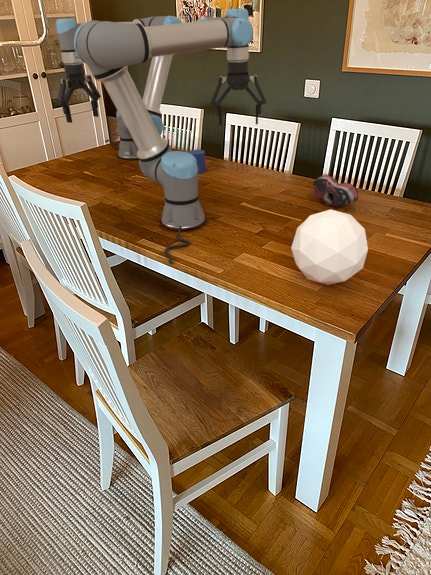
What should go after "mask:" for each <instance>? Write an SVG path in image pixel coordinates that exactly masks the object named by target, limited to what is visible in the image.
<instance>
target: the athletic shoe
mask: <svg viewBox="0 0 431 575" xmlns="http://www.w3.org/2000/svg"><path fill="white" fill-rule="evenodd" d="M312 186H313V190H314V191H315V193H311V195H312V196H314V197H318V199H319V200H320V202H321V203H322V202H323V203H324V204H325V205H326V206H331V207H336V208H340V207H342V206H343V207H344V206H346V205H350V204H352V203H354V202H357V201H358V200H359V193H358V190H357V188H356V187H355V186H354V185H353V184H352V183H349V182H342V183H339V181H338V180H337V179H336V178H335V177H333V176H331V175H329V174H327V175H326V174H324V175H320V176H319V177H317V178H316V179H315V180H314V182H313V185H312Z"/></svg>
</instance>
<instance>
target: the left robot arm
mask: <svg viewBox="0 0 431 575" xmlns="http://www.w3.org/2000/svg"><path fill="white" fill-rule="evenodd" d="M115 22H116V23H124V24H136V23H141V24H142V25H143V26H144V27H150V26H159V25H169V24H179V23H184V22H183V21H182V19H180V18H179V17H178V16H172V15H155V16H149V17H144V18H135V19H133V20H132V21H115ZM84 23H85V22H77V21H76V19H75V18H58V19H56V21H55V27H56V34H57V37H58V38H57V39H58V42H59V48H60V53H61V58H62V59H61V60H62V63H63V64H64V65H63V70H64V75H65V76H66V78H59V90H58V94H57V101H56V105H58V106H61V107H62V112H63V115H65V120H66V122H67V123H69V124H72V123H73V119H72V113H71V107H70V105H69V102H70V99H71V97H72V95H73V92H74V91H75V90H81V89H82V90H83V91H84V92H85V93H86V94H87V96H89V98H90V99H91V100H90V105H91V112H92V116H93V117H96V118H98V117H99V109H98V108H99V103H98V101H99V100H100V99H101V97H102V96H101V94H100V92H99V90H98V89H97V87H96V85H95V83H94V81H93V78H92V75H91V74H85V67H84V64H83V61H82V60H81V59H80V58H79V56H78V55H77V53H76V51H75V47H74V37H75V33H76V31H77V29H78V28H79V27H80V26H81V25H82V24H84ZM175 55H176V54H172V55H165V56H158V57H151V62H150V65H149V71H148V74H147V80H146V83H145V86H144V87H145V88H144V92H143V96H142V101H143V103H144V105H145V107H146V109H147V111H148V113H149V115H150V117H151V119H152V121H153V123H154V125H155V127H156V129H157V131H158V133H159V135H160V136H161V135H162V133H163V132H164V123H163V119H161V118H162V115H163V114H162V112H161V110H160V109H161V105H162V101H163V98H164V92H165V88H166V84H167V81H168V77H169V71H170V68H171V63H172V59H173V56H175ZM115 115H116V122H117V123H116V124H117V130H118V135H119V146H116V142H115V141H113V140H111V139H106V140H105V141H104V143H108V142H110V143H112V145H113V146H112V147H113V148H114V149H117V150H118V151H117V153H118V154H117V156H118V158H119V159H121V160H125V161H126V160H127V161H135V160H139V158H138V157H137V152H138V147H137V145H136V144H135V142H134V140H133V138H132V136H131V134H130V132H129V131H128V129H127V127H126V125H125V123H124V121H123V120H122V118H121V116H120V114H119V112H118V110H116V114H115Z"/></svg>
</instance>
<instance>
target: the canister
mask: <svg viewBox="0 0 431 575" xmlns="http://www.w3.org/2000/svg"><path fill="white" fill-rule="evenodd" d="M187 153H190V154H192V155H193V156H194V157H195V158H196V161H197V167H198V174H202V173H205V172H206V151H205V150H204V149H192V150H191V149H190V150H189V151H187Z"/></svg>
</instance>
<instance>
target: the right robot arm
mask: <svg viewBox="0 0 431 575" xmlns="http://www.w3.org/2000/svg"><path fill="white" fill-rule="evenodd" d="M249 17H250V16H249V10H247V8H231V9H230V8H229V9H226V11H225V16H219V17H217V16H216V17H203V18H198V19H197V20H196V21H191V22H183V23H179V24H169V25H159V26H150V27H144V26H143V25H142V24H141V23H136V24H124V23H116V22H117V21H115V22H114V21H110V20H109V21H108V20H104V21H103V20H95V19H93V20H91V19H90V20H89V21H85V22H83V23H84V24H82V25H81V26H80V27H79V28H78V29H77V31H76V33H75V37H74V47H75V51H76V53H77V55H78V56H79V58H80V59H81V60H82V63H84V64H85V65H86V66H87V68H88V69H89V71H90V73H91V74H92V76H93V78H94V80H96V81H98V82H100V83H102V84H103V85H104V88H105V90H106V92H107V94H108V95H109V97H110V99H111V101H112V103H113V105H114V106H115V108H116V111H118V112H119V114H120V116H121V118H122V120H123V121H124V123H125V125H126V127H127V129H128V131H129V132H130V134H131V136H132V138H133V140H134V142H135V144H136V145H137V147H138V152H137V157H138V158H139V159H138V160H139V161H138V163H139V168H140V170H141V172H142V173H143V175H144V176H145V177H146V178H147V179H148V180H150V181H152V182H154V183H156V184H157V185H159V186H161V187H162V188H163V194H164V204H163V209H162V213H161V219H160V220H161V225H162V227H163V228H165V229H167V230H170V231H175V232H176V231H177V233H176V239H177V240H179V241H181V242H185V243H181V244H172V245H168V246H167V247H166V248H165V249H164V252H165V254H166V255H167V257H168V259H169V260H168V261H169V265H173V259H172V255H171V254H170V252H169V250H170V249H172V248H181V247H186V246H188V245H189V244H190V241H189V240H188V239H185V238H182V237H180V234H181V232H185V231H186V232H187V231H192V230H195V229H198V228H201V227H202V226H203V225H204V224H205V223H206V216H205V212H204V210H203V208H202V204H201V202H200V196H199V175H198V174H199V173H198V167H197V161H196V158H195V157H194V156H193V155H192V154H190V153H188V151H182V150H173V149H172V148H171V146H170V143H169V141H168V140H167V139H166V138H163V137H161V135H159V133H158V131H157V129H156V127H155V125H154V123H153V121H152V119H151V117H150V115H149V113H148V111H147V109H146V107H145V105H144V103H143V101H142V100H143V97H142V96H141V94H140V92H139V91H138V88H137V86H136V84H135V82H134V80H133V78H132V76H131V74H130V72H129V70H128V68H129V66H132V65H138V64H143V63H147V62H149V60H150V58H151V59H152V57H158V56H165V55H172V54H175V55H179V54H185V53H193V52H200V51H207V50H214V49H221V48H226V61H228V62H226V67H227V68H226V69H227V73H226V74H227V75H226V76H222V75H220V76H219V78H218V84H217V85H216V86H217V87H216V88H215V91H214V93H213V96H212V98H211V101H210V105H212V106H214V107H215V115H216V116H218V121H219V122H218V125H219V126H222V125H223V110H222V109H223V108H222V104H221V103H223V101H224V99H225V98H226V97H227V95H228V94H229V93H230V92H231V90H232V91H243V90H245V91H246V92H247V93H248V94H249V95H250V97H251V98H252V99H253V100H254V101H255V103H256V104H255V125H259V115H261V114H262V105H264V104H266V103H267V98H266V96H265V93H264V92H263V89H262V87H261V85H260V83H259V78H258V75H257V74H254V75H251V76H250V73H249V72H250V71H249V70H250V67H249V65H250V62H249V61H248V60H249V58H250V54H249V53H250V50H249V49H250V46H249V44H250V42H251V41H252V39H253V36H254V28H253V24H252V22H251V21H250V20H249ZM250 81H251V82H252V83H253V84H254V86H255V89H256V90H257V92H258V95H259V97H260V98H259V97H258V96H257V94H256V93H255V92H254V90H253V89H252V88H251V87H250V85H249V83H250ZM225 82H226V83H227V84H228V86H227V87H226V88H225V90H224V92H223V93H222V94H221V95H220V97H219V98H218V100H217V97H218V95H219V92H220V91H221V88H222V87H223V86H222V85H223V84H225ZM216 100H217V101H216Z"/></svg>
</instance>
